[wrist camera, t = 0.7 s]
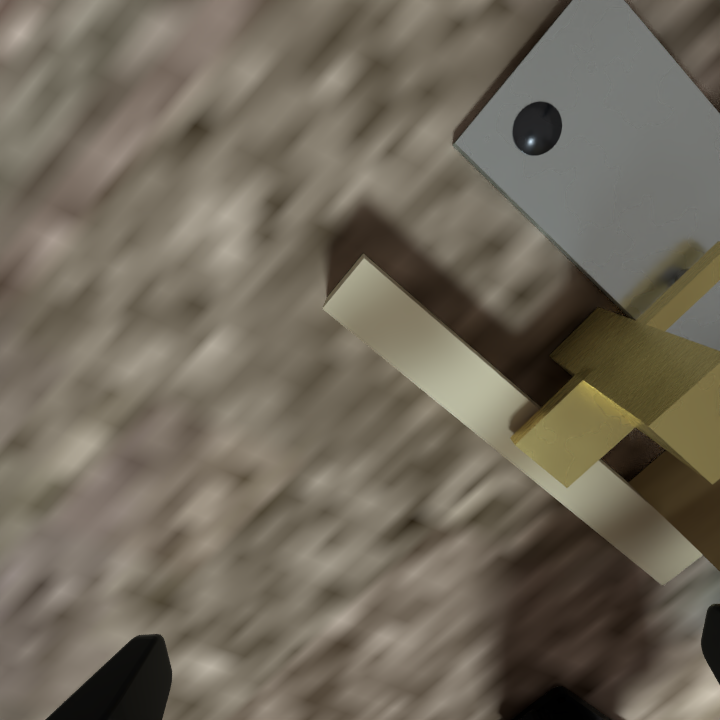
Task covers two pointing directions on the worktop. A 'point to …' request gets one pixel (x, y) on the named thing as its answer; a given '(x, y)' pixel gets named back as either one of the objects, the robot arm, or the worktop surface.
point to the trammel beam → (513, 409)
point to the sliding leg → (633, 387)
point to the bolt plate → (609, 158)
